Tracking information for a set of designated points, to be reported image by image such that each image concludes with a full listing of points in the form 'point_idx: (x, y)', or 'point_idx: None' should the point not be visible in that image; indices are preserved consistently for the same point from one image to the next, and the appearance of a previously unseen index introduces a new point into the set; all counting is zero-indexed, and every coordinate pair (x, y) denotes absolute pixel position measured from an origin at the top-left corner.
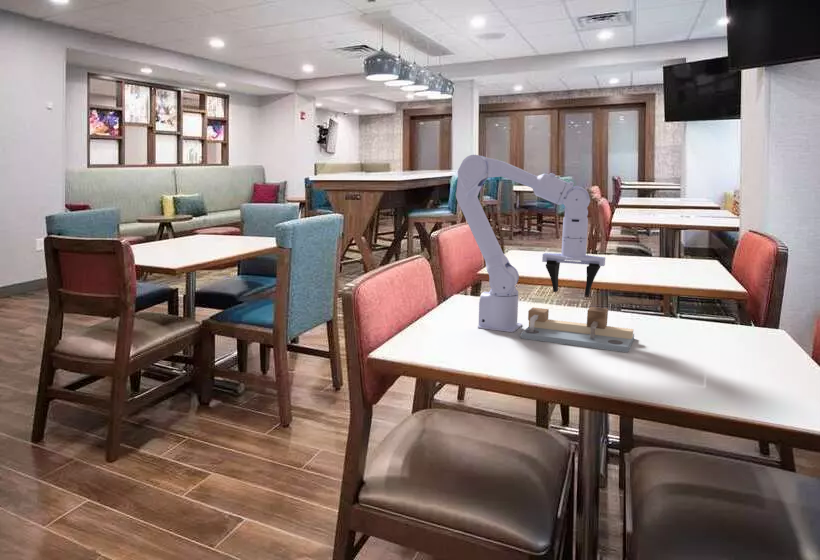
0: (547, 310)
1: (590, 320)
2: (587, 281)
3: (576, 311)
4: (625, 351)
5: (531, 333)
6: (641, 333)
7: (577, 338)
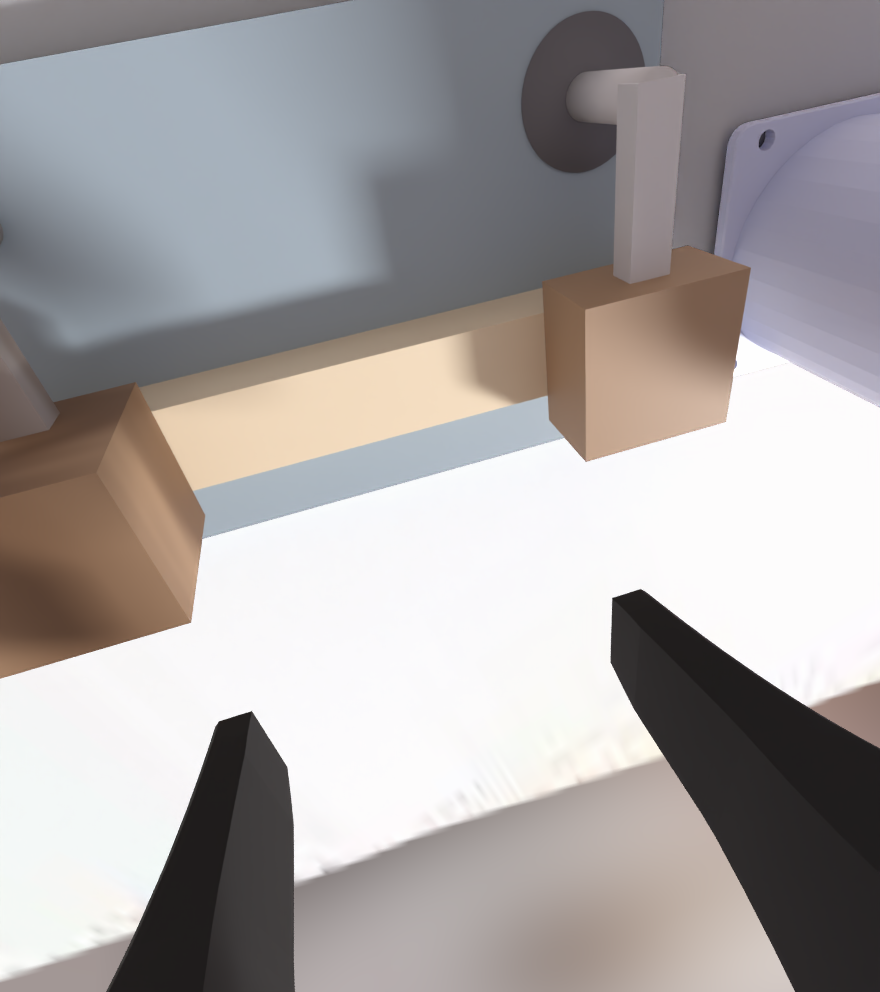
0: (584, 419)
1: (84, 424)
2: (197, 928)
3: (507, 766)
4: None
5: (571, 13)
6: (10, 713)
7: (111, 150)
